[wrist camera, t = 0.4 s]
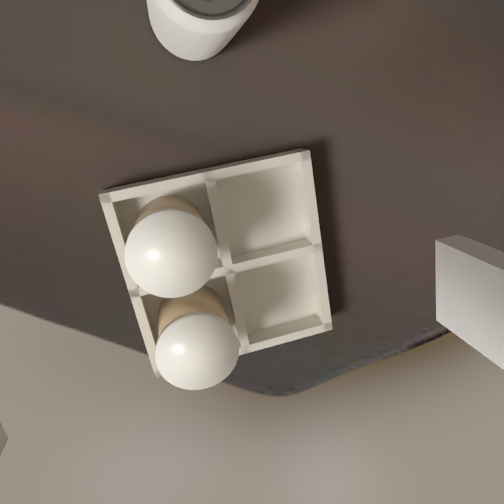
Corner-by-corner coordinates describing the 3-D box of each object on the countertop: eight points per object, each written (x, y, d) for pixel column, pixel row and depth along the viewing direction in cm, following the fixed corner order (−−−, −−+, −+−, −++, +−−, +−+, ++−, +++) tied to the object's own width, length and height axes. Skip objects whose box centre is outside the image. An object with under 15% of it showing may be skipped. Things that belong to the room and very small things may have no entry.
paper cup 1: (122, 202, 33) (112, 222, 27) (198, 186, 34) (206, 201, 28) (143, 272, 36) (138, 307, 29) (214, 255, 36) (225, 285, 30)
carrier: (102, 189, 33) (98, 194, 31) (300, 148, 36) (309, 150, 33) (156, 363, 39) (155, 378, 37) (323, 318, 41) (332, 329, 39)
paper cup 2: (148, 290, 36) (145, 329, 30) (218, 273, 37) (230, 307, 30) (166, 350, 38) (167, 399, 32) (231, 333, 39) (245, 376, 33)
